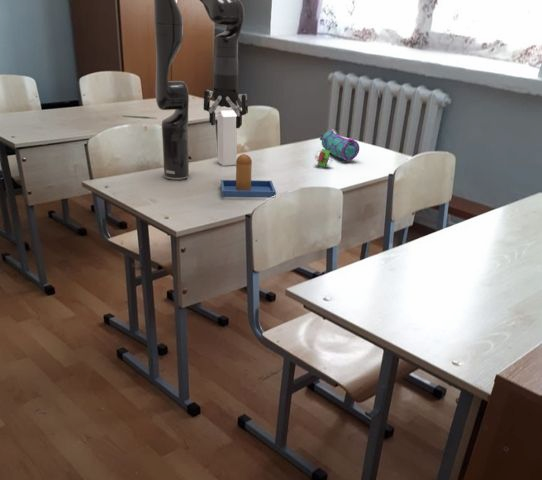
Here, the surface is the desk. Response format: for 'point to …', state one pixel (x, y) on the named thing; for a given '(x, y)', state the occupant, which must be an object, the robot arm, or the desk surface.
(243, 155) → the orange rounded cylinder
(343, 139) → the pencil case
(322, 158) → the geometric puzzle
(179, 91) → the robot arm
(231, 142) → the milk
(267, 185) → the tray
